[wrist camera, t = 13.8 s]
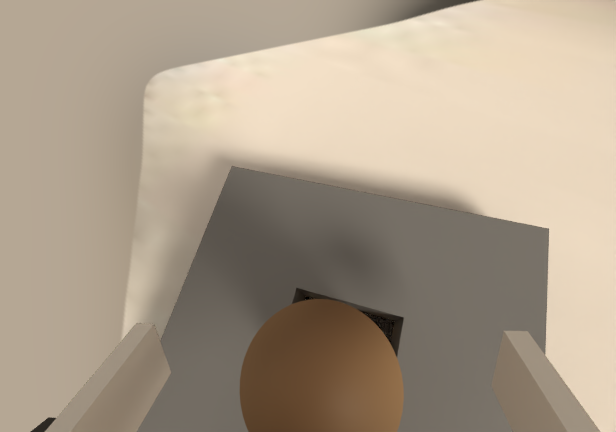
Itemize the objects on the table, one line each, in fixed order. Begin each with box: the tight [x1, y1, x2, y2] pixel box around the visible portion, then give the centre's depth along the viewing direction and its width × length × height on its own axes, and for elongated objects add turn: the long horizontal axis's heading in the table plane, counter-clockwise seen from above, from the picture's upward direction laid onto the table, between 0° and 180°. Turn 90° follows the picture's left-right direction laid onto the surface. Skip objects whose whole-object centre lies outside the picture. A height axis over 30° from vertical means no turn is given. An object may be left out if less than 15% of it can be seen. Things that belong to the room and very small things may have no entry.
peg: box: [240, 299, 404, 432], centre depth 14 cm, size 4×4×13 cm
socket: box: [137, 166, 549, 432], centre depth 19 cm, size 20×20×4 cm
